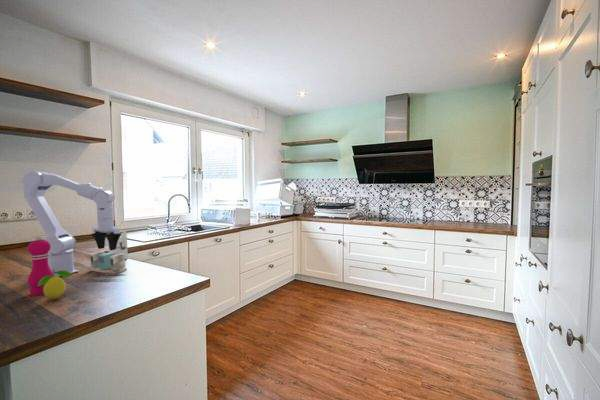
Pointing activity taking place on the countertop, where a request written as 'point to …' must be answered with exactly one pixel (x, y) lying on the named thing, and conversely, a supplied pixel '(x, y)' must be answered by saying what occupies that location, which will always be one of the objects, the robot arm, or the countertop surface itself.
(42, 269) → the pepper mill
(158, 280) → the countertop surface
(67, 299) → the countertop surface
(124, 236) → the ink box
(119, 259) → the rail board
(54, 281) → the lemon
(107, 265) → the block
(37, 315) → the countertop surface
